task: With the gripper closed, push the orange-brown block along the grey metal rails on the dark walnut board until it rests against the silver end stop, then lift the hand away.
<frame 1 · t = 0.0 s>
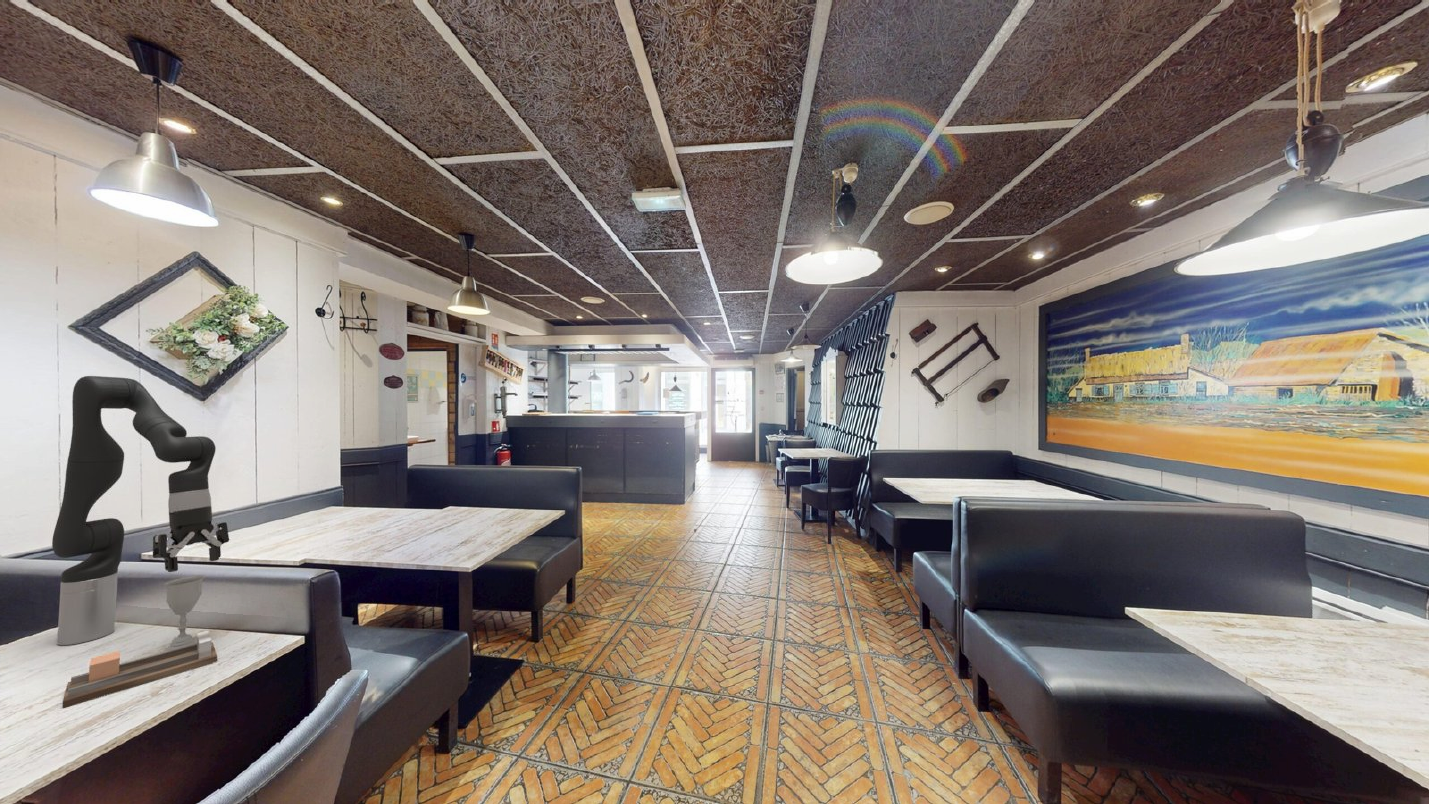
hand: (194, 565, 117), 22 cm above the table, tool pointing down, fingers open, 8 cm apart
orange-brown block: (104, 668, 100), point 4 cm above the table, slide at 0.0 cm
chalice: (181, 646, 118), on the table
rail board: (146, 674, 105), on the table
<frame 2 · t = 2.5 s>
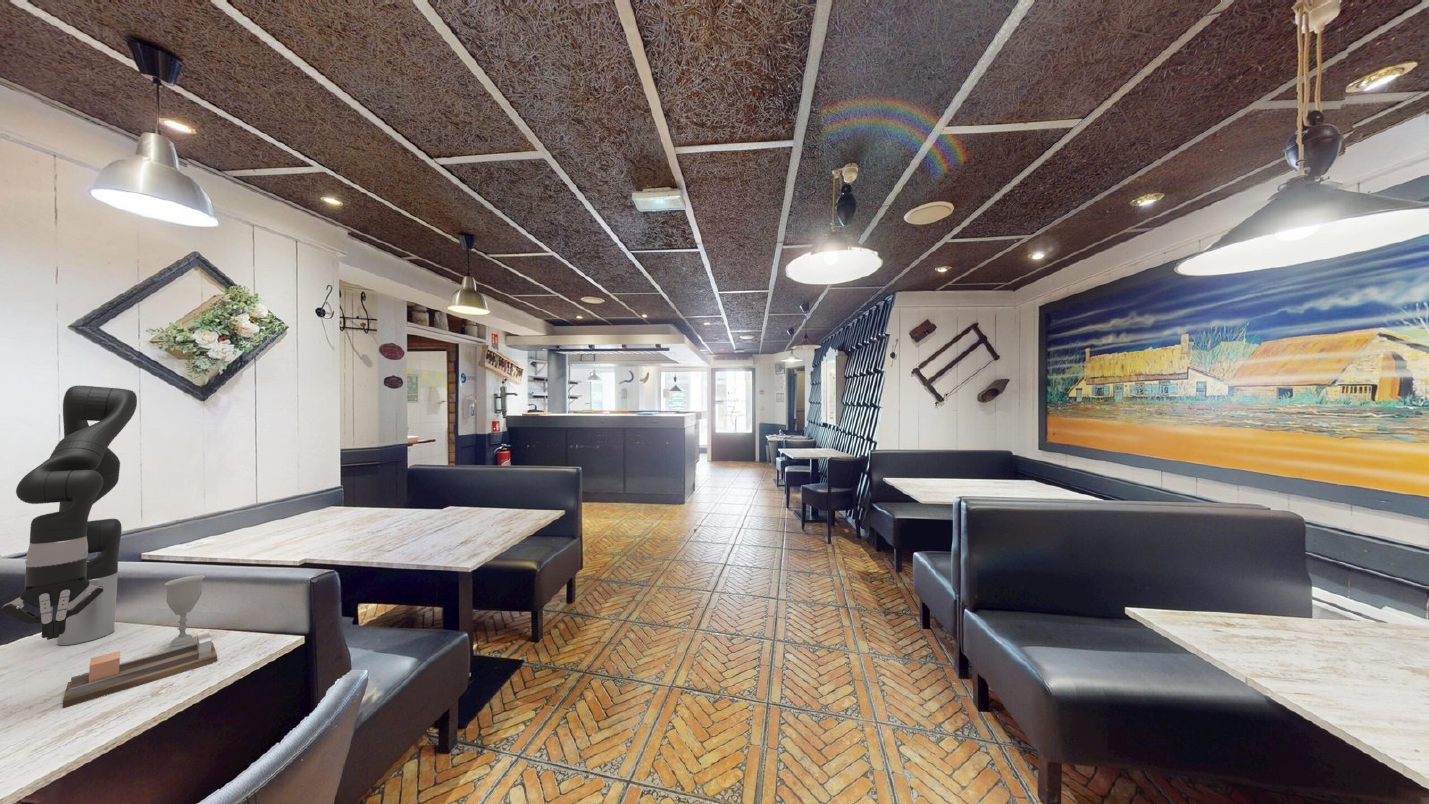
hand: (53, 637, 95), 14 cm above the table, tool pointing down, fingers closed
nothing on the table moved.
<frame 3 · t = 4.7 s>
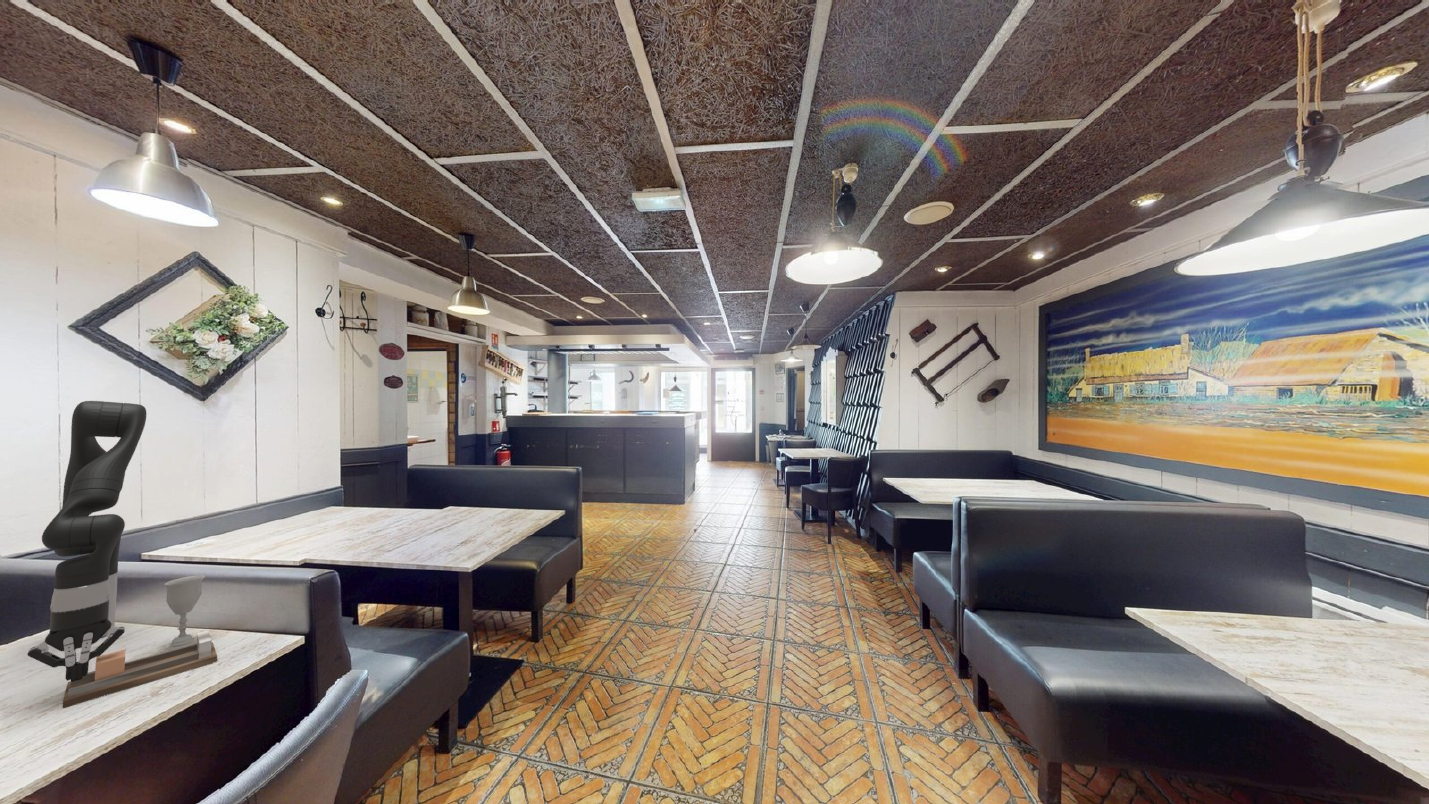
hand: (76, 679, 97), 4 cm above the table, tool pointing down, fingers closed
orange-brown block: (110, 667, 101), point 4 cm above the table, slide at 0.8 cm, touching gripper
everything else where it was.
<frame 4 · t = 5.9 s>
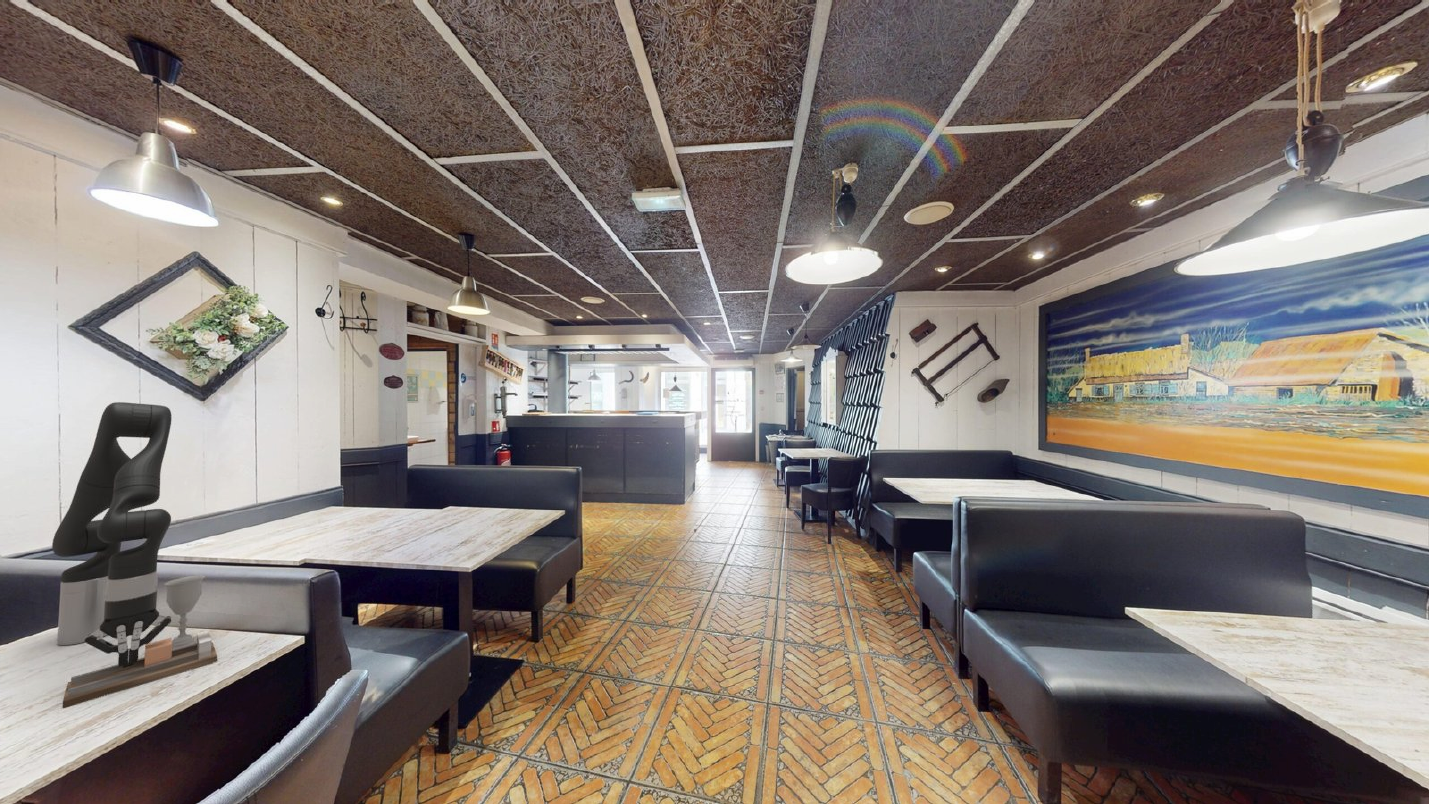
hand: (127, 665, 102), 4 cm above the table, tool pointing down, fingers closed
orange-brown block: (158, 654, 106), point 4 cm above the table, slide at 7.7 cm, touching gripper
everything else where it was.
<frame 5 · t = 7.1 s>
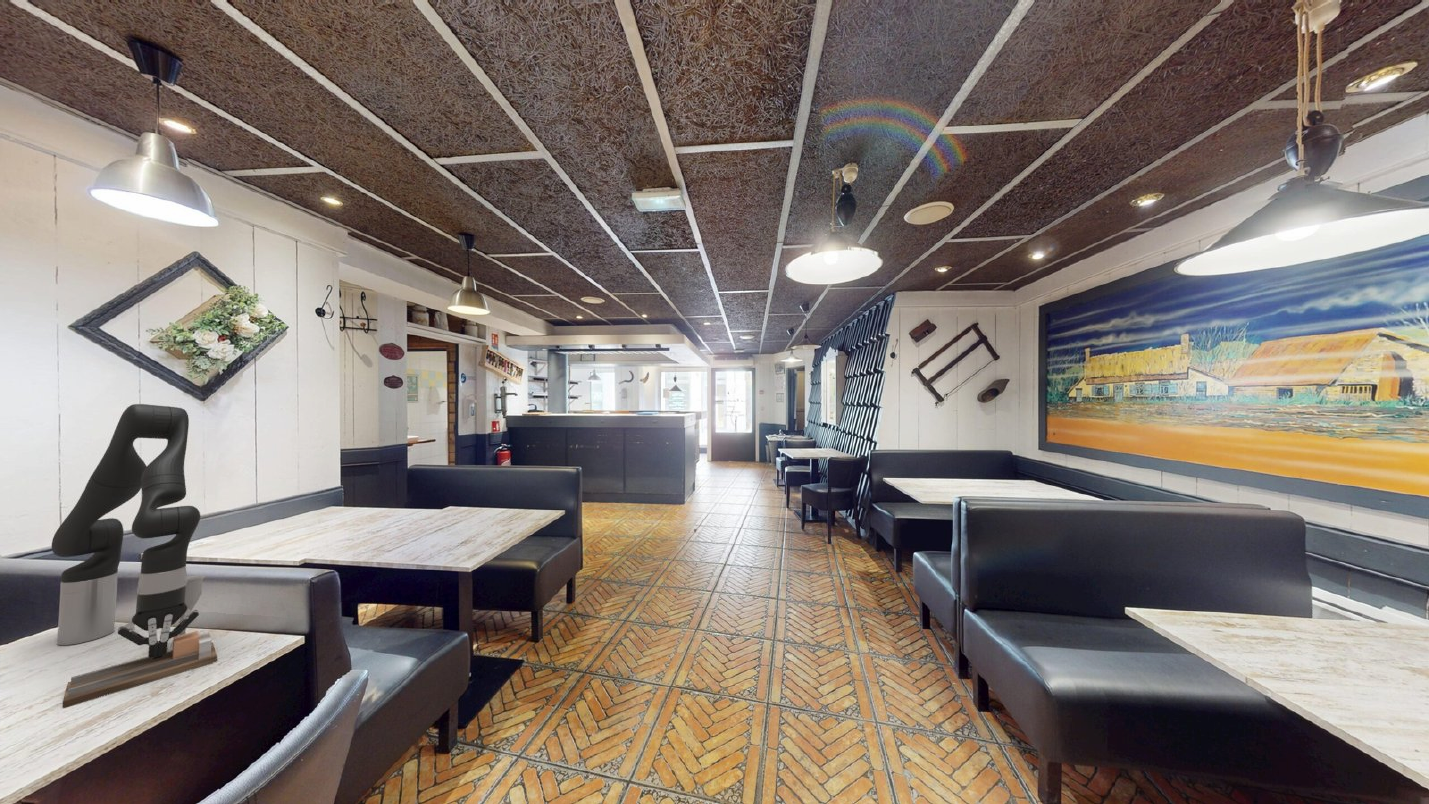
hand: (157, 657, 106), 4 cm above the table, tool pointing down, fingers closed
orange-brown block: (185, 646, 110), point 4 cm above the table, slide at 12.0 cm, touching gripper, rail board
everything else where it was.
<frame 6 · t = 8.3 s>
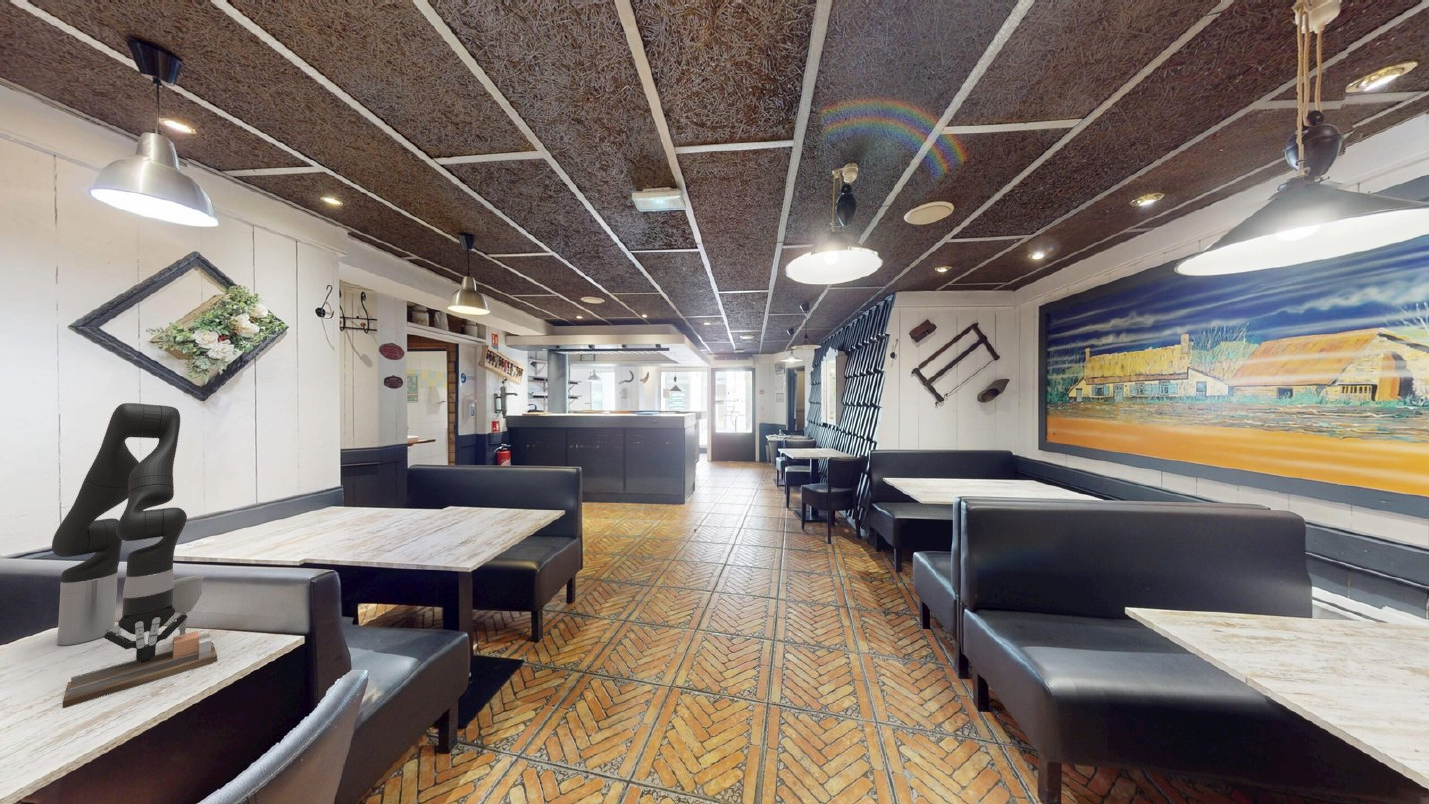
hand: (145, 660, 105), 3 cm above the table, tool pointing down, fingers closed
orange-brown block: (185, 646, 110), point 4 cm above the table, slide at 12.0 cm, touching rail board
everything else where it was.
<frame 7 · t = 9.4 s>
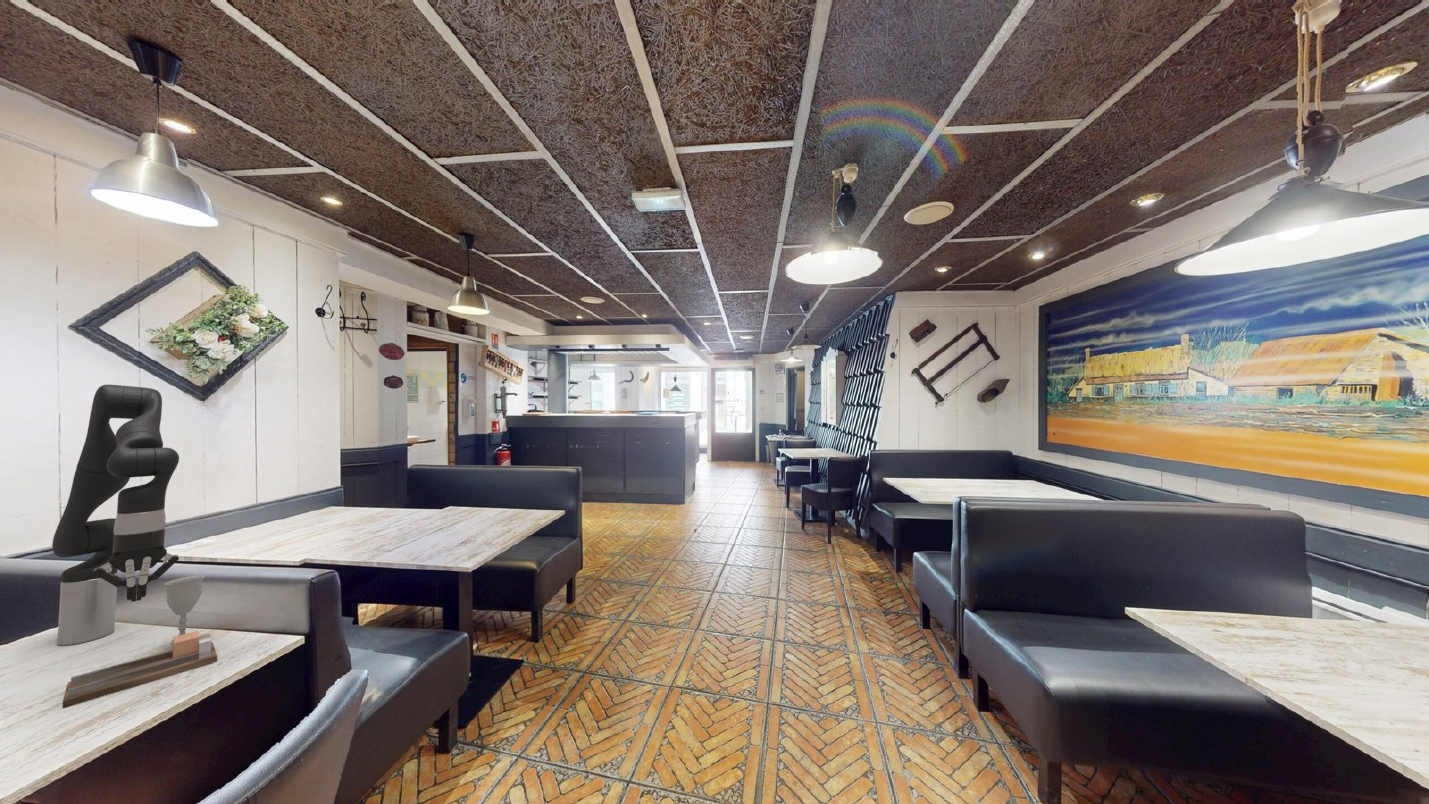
hand: (136, 600, 104), 19 cm above the table, tool pointing down, fingers closed
nothing on the table moved.
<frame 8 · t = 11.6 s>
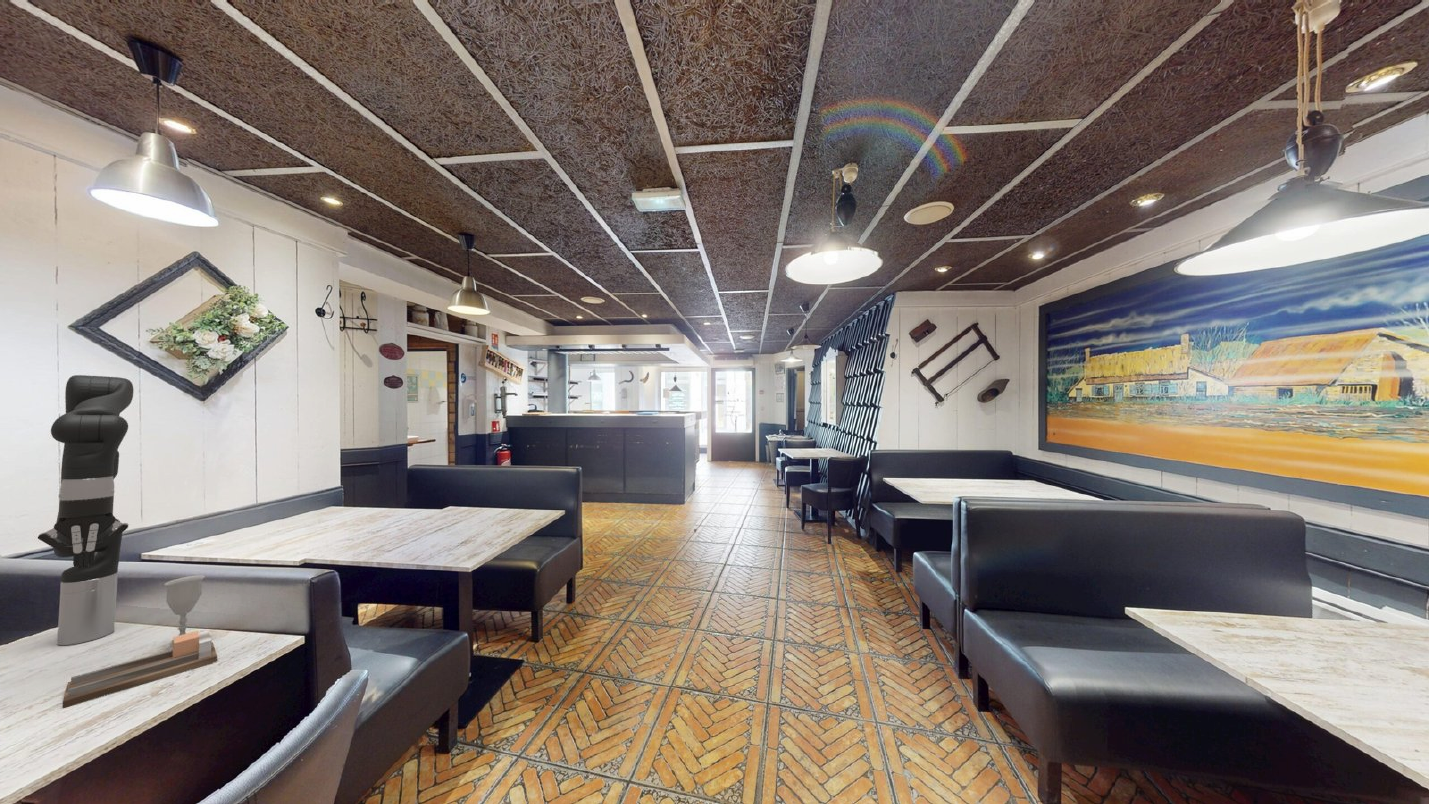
hand: (83, 567, 103), 27 cm above the table, tool pointing down, fingers closed
nothing on the table moved.
at the end: orange-brown block slide at 12.0 cm; chalice moved 0.2 cm from its start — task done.
